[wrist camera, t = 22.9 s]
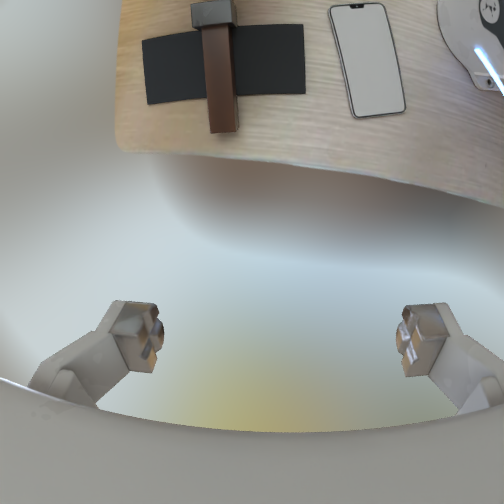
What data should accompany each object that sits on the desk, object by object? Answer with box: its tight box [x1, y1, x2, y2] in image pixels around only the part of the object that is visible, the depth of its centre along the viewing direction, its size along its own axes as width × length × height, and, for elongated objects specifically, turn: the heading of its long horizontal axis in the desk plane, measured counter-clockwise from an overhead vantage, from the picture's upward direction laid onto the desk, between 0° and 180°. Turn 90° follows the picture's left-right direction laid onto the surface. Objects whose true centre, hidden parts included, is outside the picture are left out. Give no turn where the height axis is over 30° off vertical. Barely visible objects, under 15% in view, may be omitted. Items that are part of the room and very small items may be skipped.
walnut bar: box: [191, 0, 239, 134], centre depth 32 cm, size 4×16×4 cm, turn 4°
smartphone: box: [328, 2, 406, 119], centre depth 32 cm, size 7×1×15 cm
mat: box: [142, 24, 306, 105], centre depth 34 cm, size 20×9×1 cm, turn 93°
